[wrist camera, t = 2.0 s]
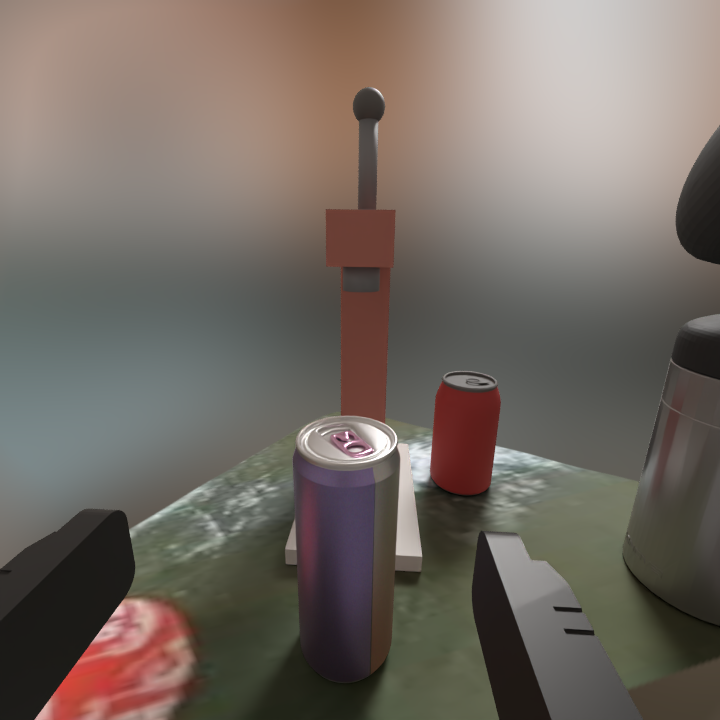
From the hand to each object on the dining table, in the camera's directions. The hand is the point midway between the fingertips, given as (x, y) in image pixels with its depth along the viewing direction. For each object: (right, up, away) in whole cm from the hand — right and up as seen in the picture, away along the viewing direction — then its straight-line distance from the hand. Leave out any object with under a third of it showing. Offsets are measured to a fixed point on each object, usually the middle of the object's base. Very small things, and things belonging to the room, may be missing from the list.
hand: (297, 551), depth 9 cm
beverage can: (0, -14, +17) cm, 22 cm away
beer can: (+12, -9, +34) cm, 38 cm away
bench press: (+1, -10, +31) cm, 33 cm away
